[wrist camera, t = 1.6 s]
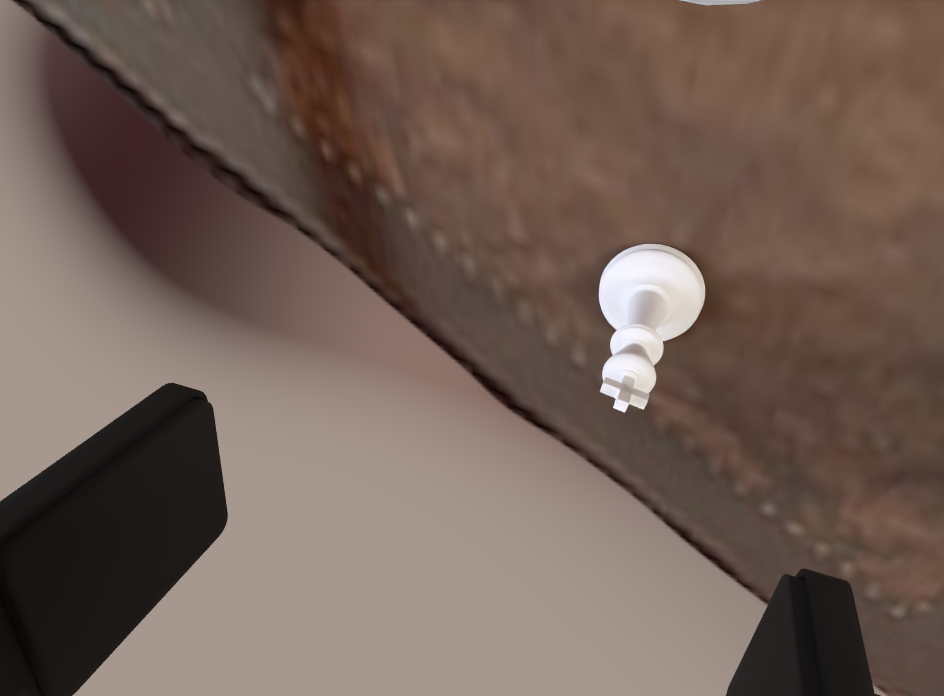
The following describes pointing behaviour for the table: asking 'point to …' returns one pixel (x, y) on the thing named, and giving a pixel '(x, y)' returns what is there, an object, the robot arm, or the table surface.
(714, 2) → the disposable coffee cup
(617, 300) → the chess piece
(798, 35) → the table surface
